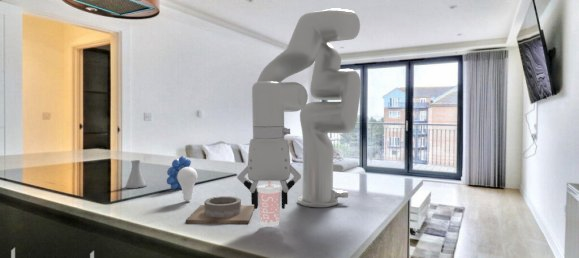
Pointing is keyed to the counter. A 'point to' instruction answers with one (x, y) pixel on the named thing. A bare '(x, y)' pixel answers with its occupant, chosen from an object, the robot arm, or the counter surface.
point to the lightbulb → (187, 181)
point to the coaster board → (222, 211)
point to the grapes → (176, 171)
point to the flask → (135, 176)
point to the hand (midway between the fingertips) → (269, 206)
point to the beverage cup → (269, 204)
